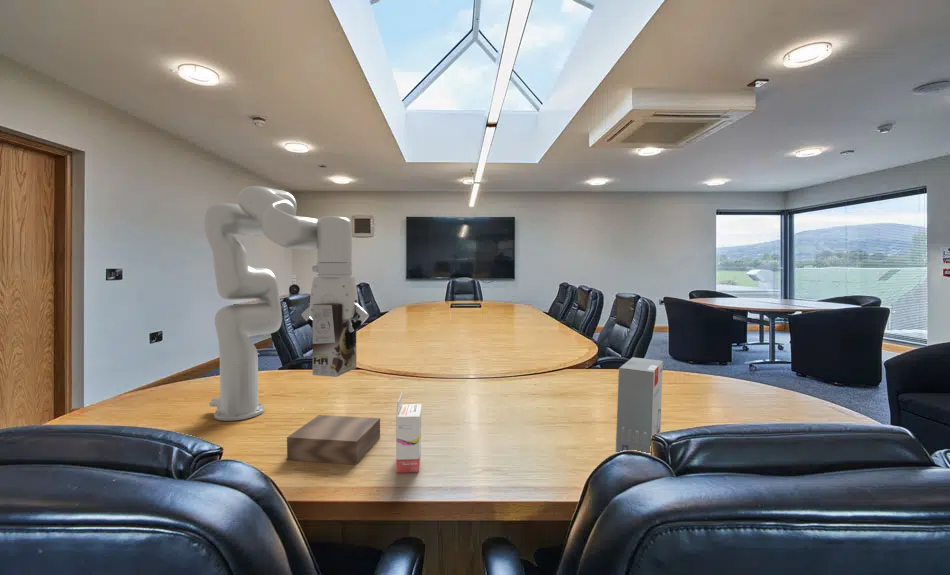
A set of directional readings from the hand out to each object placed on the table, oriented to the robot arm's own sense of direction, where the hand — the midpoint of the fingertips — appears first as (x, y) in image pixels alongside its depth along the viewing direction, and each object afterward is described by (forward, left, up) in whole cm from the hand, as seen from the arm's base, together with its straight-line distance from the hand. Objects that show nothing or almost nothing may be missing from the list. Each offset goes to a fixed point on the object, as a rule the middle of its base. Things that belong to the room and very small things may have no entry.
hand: (335, 347), depth 95 cm
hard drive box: (+71, +11, -24) cm, 76 cm away
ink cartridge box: (+19, -5, -24) cm, 31 cm away
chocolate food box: (0, 0, -6) cm, 6 cm away
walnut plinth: (0, 0, -24) cm, 24 cm away
